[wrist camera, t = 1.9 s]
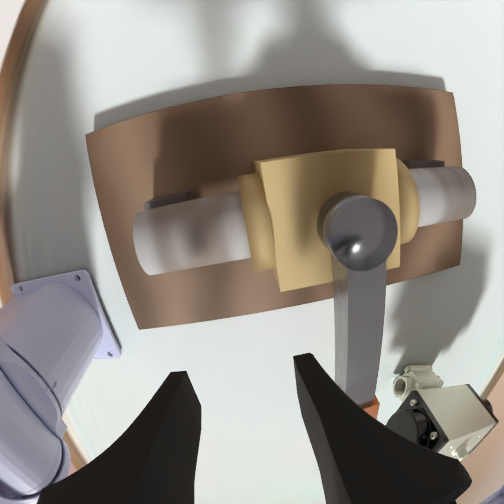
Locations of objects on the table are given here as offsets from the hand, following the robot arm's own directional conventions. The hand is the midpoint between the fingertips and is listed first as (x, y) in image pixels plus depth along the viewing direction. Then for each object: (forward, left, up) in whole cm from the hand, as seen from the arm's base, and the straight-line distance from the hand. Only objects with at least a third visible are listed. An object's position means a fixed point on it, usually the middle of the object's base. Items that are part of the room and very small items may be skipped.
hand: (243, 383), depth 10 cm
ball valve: (+5, +4, -10) cm, 12 cm away
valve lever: (+5, -2, -3) cm, 6 cm away
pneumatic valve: (+15, -16, -11) cm, 24 cm away
